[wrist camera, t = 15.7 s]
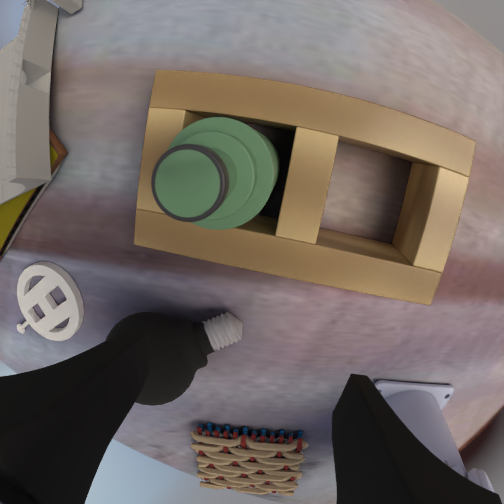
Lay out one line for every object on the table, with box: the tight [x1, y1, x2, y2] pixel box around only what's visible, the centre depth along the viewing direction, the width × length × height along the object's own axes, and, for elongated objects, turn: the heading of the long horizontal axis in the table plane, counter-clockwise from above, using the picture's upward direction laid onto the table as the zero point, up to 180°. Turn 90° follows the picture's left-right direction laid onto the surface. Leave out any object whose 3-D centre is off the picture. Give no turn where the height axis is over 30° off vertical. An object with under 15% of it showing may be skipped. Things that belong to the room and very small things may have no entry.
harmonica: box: [0, 127, 68, 260], centre depth 20 cm, size 15×3×2 cm, turn 128°
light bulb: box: [106, 312, 243, 405], centre depth 20 cm, size 6×6×10 cm
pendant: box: [17, 261, 84, 341], centre depth 24 cm, size 7×11×1 cm, turn 121°
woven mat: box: [190, 423, 309, 496], centre depth 26 cm, size 10×11×2 cm
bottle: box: [151, 117, 280, 230], centre depth 13 cm, size 4×4×10 cm
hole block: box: [134, 70, 476, 305], centre depth 16 cm, size 9×17×4 cm, turn 80°
